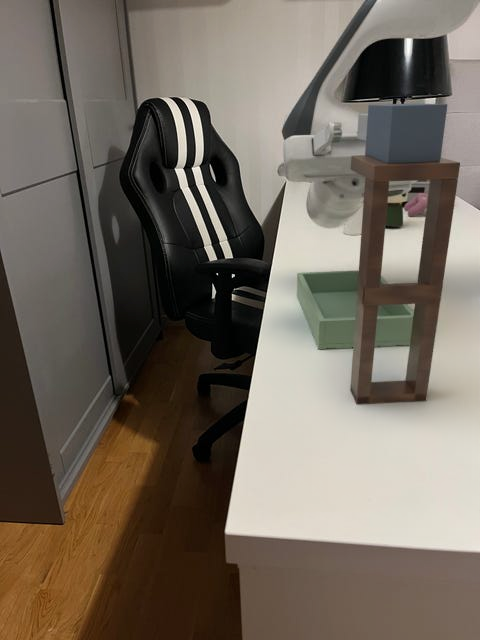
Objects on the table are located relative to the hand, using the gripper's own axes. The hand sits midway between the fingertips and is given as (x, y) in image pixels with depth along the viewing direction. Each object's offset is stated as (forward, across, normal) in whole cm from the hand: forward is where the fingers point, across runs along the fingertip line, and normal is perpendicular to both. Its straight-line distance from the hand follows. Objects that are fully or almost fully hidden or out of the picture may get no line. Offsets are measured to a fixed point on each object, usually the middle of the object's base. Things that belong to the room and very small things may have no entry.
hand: (375, 126), depth 58 cm
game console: (-102, +35, -26) cm, 111 cm away
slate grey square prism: (+3, 0, +5) cm, 6 cm away
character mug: (-73, +26, -9) cm, 78 cm away
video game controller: (-85, +38, -16) cm, 95 cm away
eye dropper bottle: (-68, +15, -6) cm, 70 cm away
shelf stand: (-6, 0, +30) cm, 30 cm away
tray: (-23, +1, +20) cm, 30 cm away
